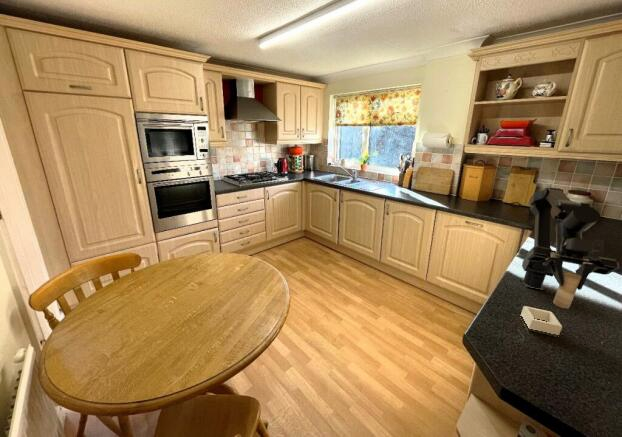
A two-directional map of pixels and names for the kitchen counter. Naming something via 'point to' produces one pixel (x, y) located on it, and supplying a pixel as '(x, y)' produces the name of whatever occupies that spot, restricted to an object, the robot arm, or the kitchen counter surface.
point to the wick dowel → (567, 289)
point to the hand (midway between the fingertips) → (570, 287)
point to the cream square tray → (549, 326)
